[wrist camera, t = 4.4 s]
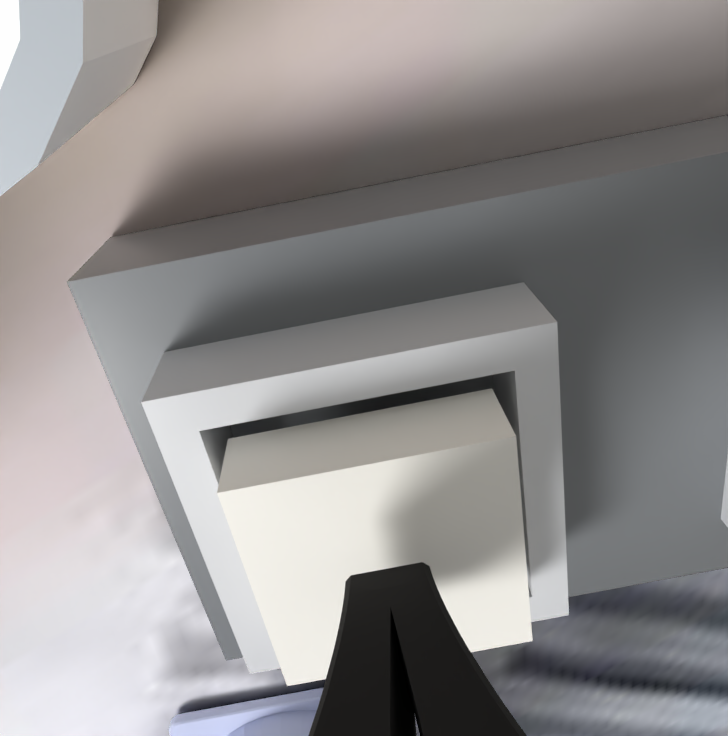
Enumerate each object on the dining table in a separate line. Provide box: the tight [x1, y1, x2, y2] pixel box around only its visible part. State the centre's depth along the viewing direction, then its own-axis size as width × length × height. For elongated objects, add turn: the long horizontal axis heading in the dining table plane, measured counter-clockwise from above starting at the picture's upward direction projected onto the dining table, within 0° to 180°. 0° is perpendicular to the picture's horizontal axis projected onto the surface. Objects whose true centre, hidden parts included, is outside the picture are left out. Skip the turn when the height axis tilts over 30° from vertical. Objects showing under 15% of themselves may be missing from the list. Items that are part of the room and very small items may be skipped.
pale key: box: [217, 388, 533, 686], centre depth 12 cm, size 5×5×2 cm
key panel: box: [67, 115, 728, 674], centre depth 15 cm, size 11×22×5 cm, turn 100°
